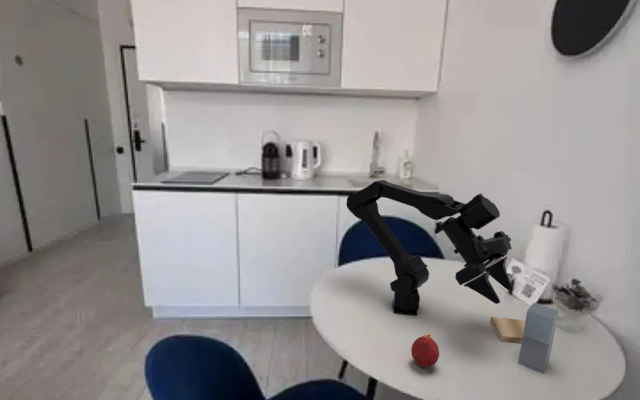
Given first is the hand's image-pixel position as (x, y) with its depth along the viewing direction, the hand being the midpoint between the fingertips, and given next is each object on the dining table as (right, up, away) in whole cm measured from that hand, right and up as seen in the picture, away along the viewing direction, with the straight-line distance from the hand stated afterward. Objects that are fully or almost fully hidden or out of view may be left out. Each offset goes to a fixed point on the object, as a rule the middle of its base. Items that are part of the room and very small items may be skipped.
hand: (505, 296), depth 86 cm
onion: (-20, -14, -5) cm, 25 cm away
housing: (+5, -14, -2) cm, 16 cm away
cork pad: (+7, -12, +9) cm, 17 cm away
